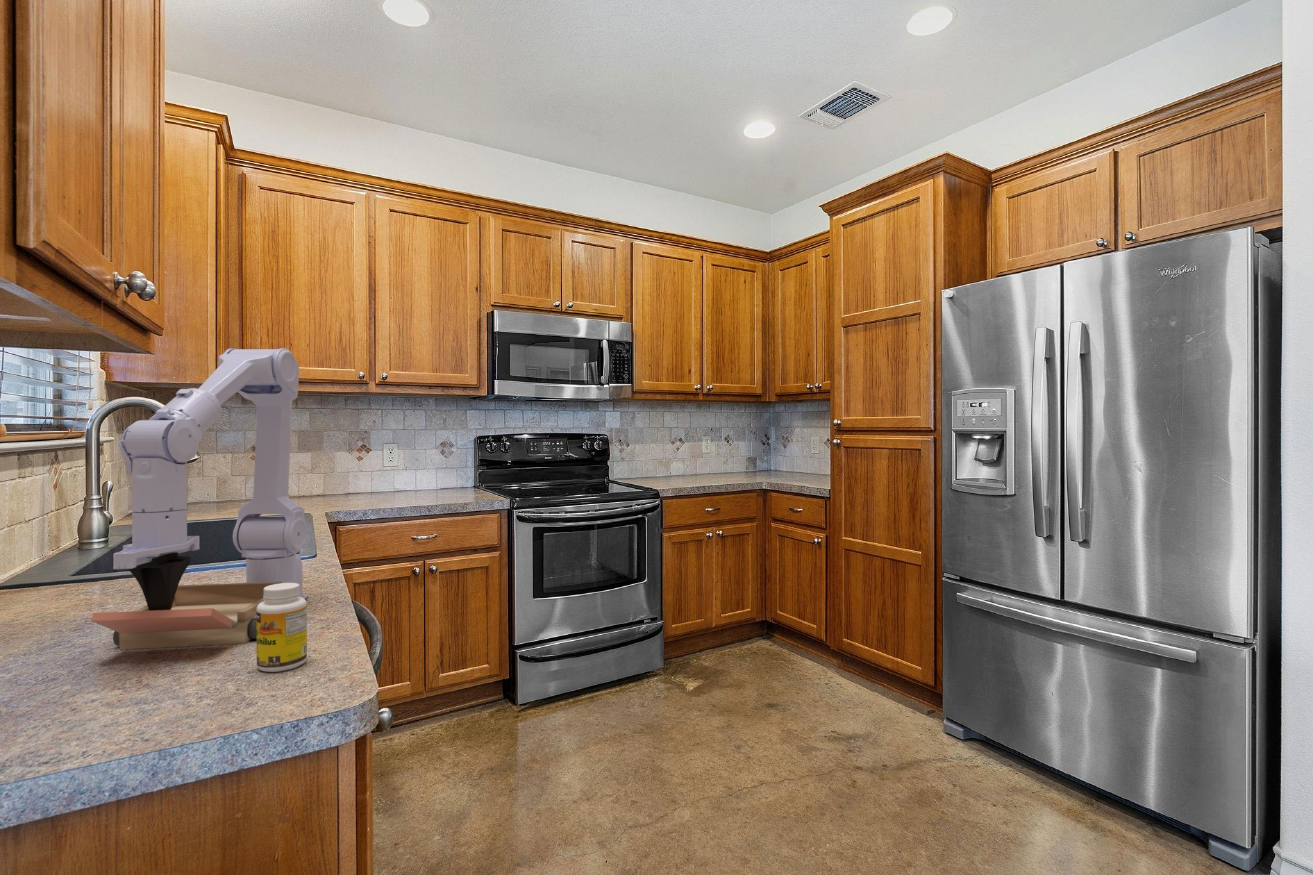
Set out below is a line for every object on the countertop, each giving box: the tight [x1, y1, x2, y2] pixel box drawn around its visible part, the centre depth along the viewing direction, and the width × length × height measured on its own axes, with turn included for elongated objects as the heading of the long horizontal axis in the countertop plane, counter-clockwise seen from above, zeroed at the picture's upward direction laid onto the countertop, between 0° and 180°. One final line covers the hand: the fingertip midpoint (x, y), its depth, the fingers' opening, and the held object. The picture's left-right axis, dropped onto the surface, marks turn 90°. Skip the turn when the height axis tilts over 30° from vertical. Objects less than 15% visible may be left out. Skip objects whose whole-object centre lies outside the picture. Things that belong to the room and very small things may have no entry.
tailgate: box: [90, 608, 237, 634], centre depth 85 cm, size 1×14×7 cm
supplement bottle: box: [256, 583, 308, 673], centre depth 81 cm, size 6×6×10 cm
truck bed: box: [112, 582, 282, 650], centre depth 94 cm, size 12×18×6 cm, turn 98°
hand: (160, 613), depth 83 cm, fingers closed, pressing on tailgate
